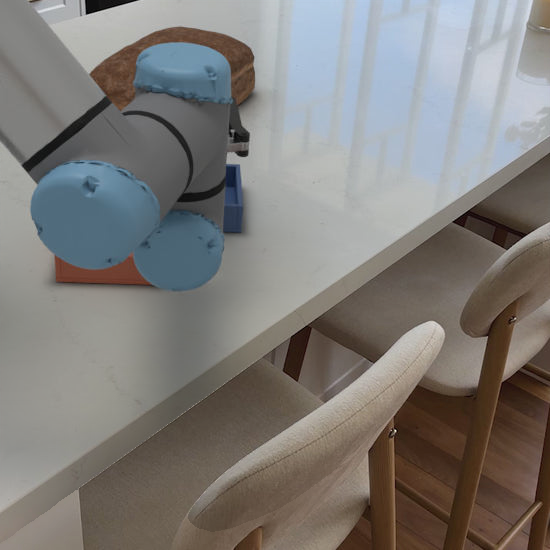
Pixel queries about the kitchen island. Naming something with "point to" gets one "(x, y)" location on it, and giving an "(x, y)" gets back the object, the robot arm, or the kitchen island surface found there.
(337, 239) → the kitchen island surface
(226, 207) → the blue bin
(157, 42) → the bread
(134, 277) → the terracotta bin
